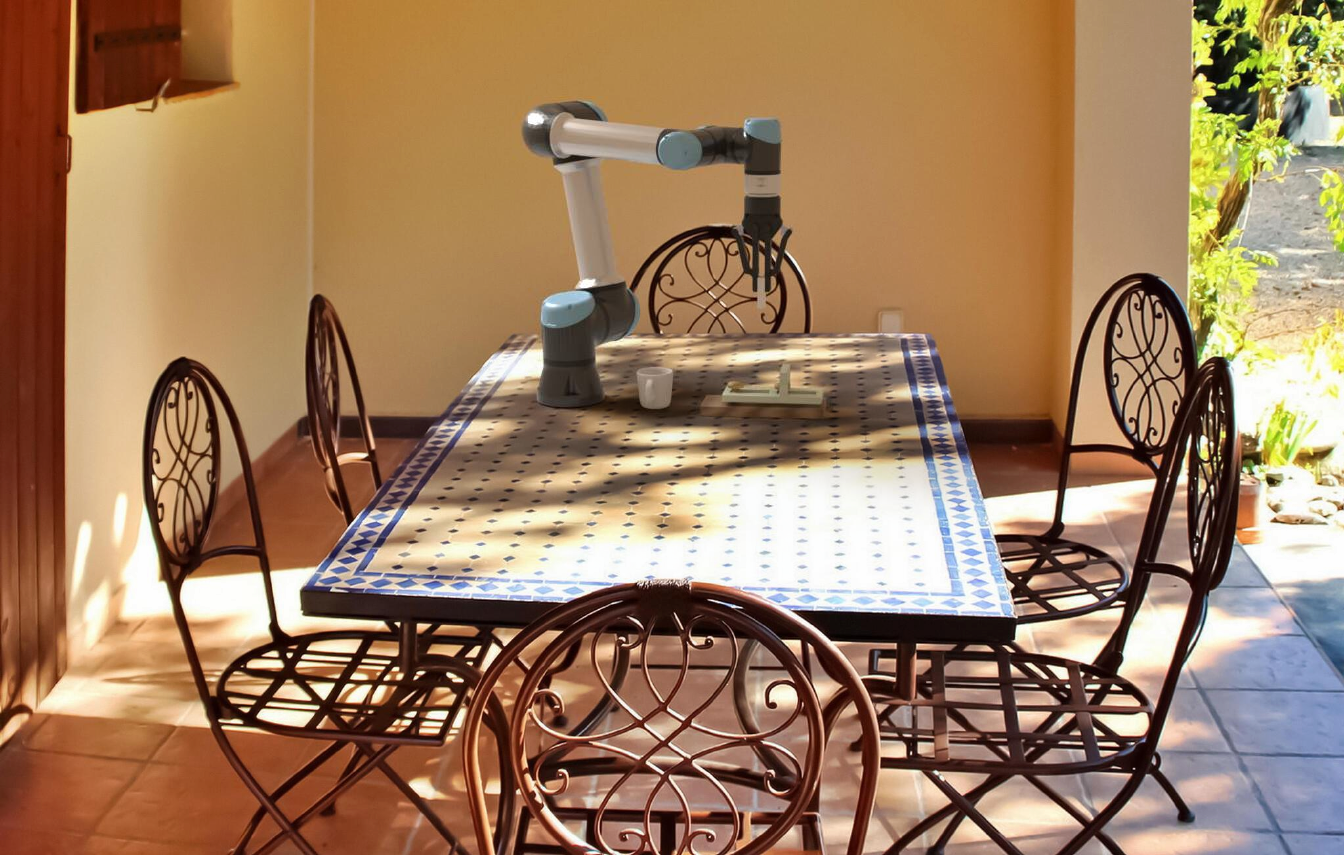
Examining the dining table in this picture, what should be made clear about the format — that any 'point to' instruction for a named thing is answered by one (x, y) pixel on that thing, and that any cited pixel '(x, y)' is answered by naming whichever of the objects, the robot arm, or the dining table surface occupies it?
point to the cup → (655, 387)
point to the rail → (759, 407)
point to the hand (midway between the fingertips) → (761, 307)
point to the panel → (776, 392)
